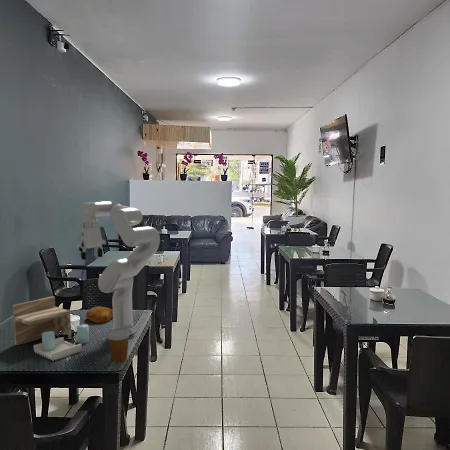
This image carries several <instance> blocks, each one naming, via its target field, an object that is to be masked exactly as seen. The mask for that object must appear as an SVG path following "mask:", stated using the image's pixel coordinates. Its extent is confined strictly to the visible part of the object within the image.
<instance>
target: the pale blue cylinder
mask: <svg viewBox="0 0 450 450" xmlns="http://www.w3.org/2000/svg"><path fill="white" fill-rule="evenodd" d="M89 327H90V326H89V324H83V323H82V324H79V325H77V326H76V336H77V337H76V338H77V339H76V340H77V343H78V344H82V345H83V344H87V343H89V342H90V333H89V332H90V330H89Z"/></svg>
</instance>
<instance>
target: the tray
mask: <svg viewBox="0 0 450 450" xmlns="http://www.w3.org/2000/svg"><path fill="white" fill-rule="evenodd" d="M82 351H83V344H80V343H78V344H74V343H72V342H69V341H68V340H65V339H64V337H59V336H58V337H57V338H56V335H55V333H54V331H46V332H43V333H42V338H41V342H40V343H37V344H33V353H34V352H35V354H36V353H37V355H38V354H40V355H39V356H41V355H42V356H41V357H43V356H44V357H43V358H45V357H46V358H45V359H47V358H48V359H47V360H49V359H50V361H51V360H52V362H55V361H57V359H58V360H60V359H63V358H66V357H68V356H71V355H74V354H77V353H80V352H82ZM54 360H55V361H54Z"/></svg>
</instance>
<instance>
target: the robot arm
mask: <svg viewBox="0 0 450 450" xmlns="http://www.w3.org/2000/svg"><path fill="white" fill-rule="evenodd" d="M81 214H82V223H81V224H80V227H81V228H82V229H81V235H80V241H78V242H77V243H76V244H75V246H76V248H77V250H78V251H79V252H80V258H81V260H82V261H83V260H84V261H86V260H87V254H86V253H87V252H86V250H87V249H91V248H92V249H94V248H97V257H98V258H102V257H103V250H104V248H105V246H106V242H107V241H106V239H103V238H102V234H101V233H102V232H101V229H100V227H99V224H98V223H99V221H98V217H99V218H100V217H110V219H111V221H112V223H113V224H112V225H113V226H114V228H115V230H116V231H117V233H118V235H119V236H120V239H121V240H122V242H123V243H124V245H126V246H127V247H131V248H135V247H136V248H135V249H133V250H132V251H131V253H130V254H129V255H128V256H127V257H123V258H120V259H119V258H118V259H115V260H112V261H111V262H110V263H108V265H107V267H106V268H105V269H104V270H103V271H102V273H101V274H100V276H99V278H98V280H97V281H98V282H97V284H98V288H99V290H100V291H101V292H103V293H105V294H109V293H112V299H111V300H112V310H113V319H112V321H113V323H112V324H113V325H112V326H113V327H112V329H111V330H113V329H118V328H124V329H128V330H129V333H130V335H129V336H131V335H133V334H135V333H136V332H137V330H138V329H137V327H135V324H134V321H133V284H134V277H135V276H137V275H138V274H139V273H140V271H141V270H142V269H143V268H144V267H145V265H146V264H147V263H148V262H149V261H150V259H152V258H153V256H154V255H155V254H156V252H157V250H158V249H159V247H160V243H161V238H160V237H161V236H160V232H159V230H158V229H156V228H155V227H152V226H139V227H134V226H136V225H139V224H140V223H142V221H143V218H144V217H143V213H142V211H141V210H140V209H138V208H135V207H133V206H132V207H131V206H127V205H122V204H121V203H119V202H114V201H107V200H106V201H88V202H87V201H86V202H82V204H81ZM132 226H133V227H132Z"/></svg>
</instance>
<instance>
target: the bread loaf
mask: <svg viewBox="0 0 450 450" xmlns="http://www.w3.org/2000/svg"><path fill="white" fill-rule="evenodd" d="M85 317H86V318H87V320H89V321H90V322H93V323H97V324H98V323H99V324H100V323H105V322H109V321H110V320H113V308H112V309H111V308H109V307H106V306H93V307H92V308H90V309H88V310H87V311H86V313H85Z"/></svg>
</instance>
